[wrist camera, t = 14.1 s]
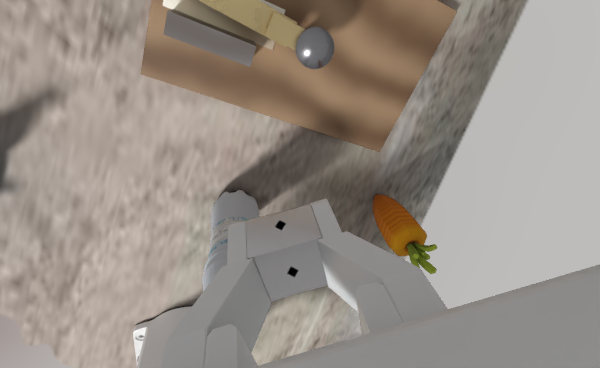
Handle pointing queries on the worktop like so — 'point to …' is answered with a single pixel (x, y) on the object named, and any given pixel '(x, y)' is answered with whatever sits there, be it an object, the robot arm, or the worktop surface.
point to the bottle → (226, 228)
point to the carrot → (402, 231)
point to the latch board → (291, 72)
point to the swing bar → (280, 29)
